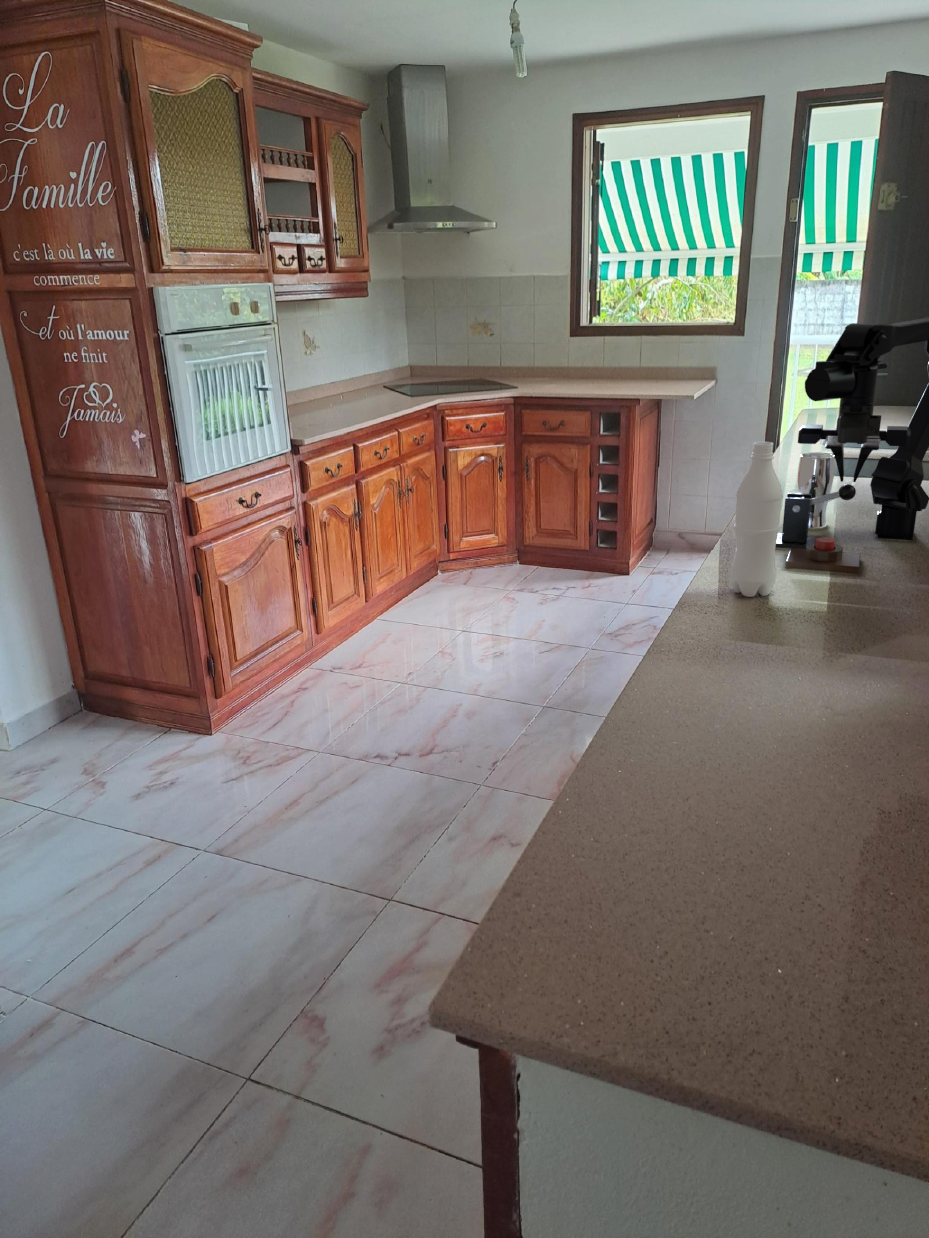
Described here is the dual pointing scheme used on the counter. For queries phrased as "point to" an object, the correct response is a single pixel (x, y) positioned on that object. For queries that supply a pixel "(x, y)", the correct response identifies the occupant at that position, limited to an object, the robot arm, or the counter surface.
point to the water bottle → (757, 525)
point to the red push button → (825, 544)
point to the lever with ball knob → (836, 494)
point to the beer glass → (816, 483)
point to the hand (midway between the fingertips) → (848, 481)
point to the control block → (823, 559)
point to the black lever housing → (796, 523)
